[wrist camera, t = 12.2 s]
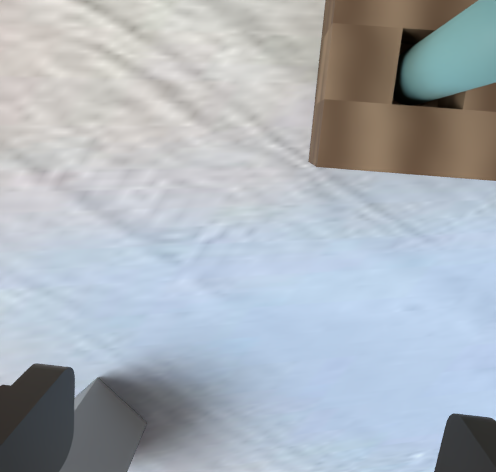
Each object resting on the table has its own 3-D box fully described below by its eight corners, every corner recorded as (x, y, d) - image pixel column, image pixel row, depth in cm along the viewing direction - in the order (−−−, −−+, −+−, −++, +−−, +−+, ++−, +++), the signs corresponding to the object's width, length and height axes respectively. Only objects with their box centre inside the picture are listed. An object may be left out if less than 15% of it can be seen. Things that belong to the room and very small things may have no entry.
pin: (442, 52, 33) (584, -25, 18) (434, 107, 33) (563, 76, 19) (389, 49, 33) (486, -30, 18) (382, 104, 34) (470, 71, 19)
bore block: (511, -10, 33) (565, -41, 27) (475, 174, 36) (515, 182, 30) (327, -23, 33) (341, -56, 27) (308, 161, 36) (316, 166, 31)
